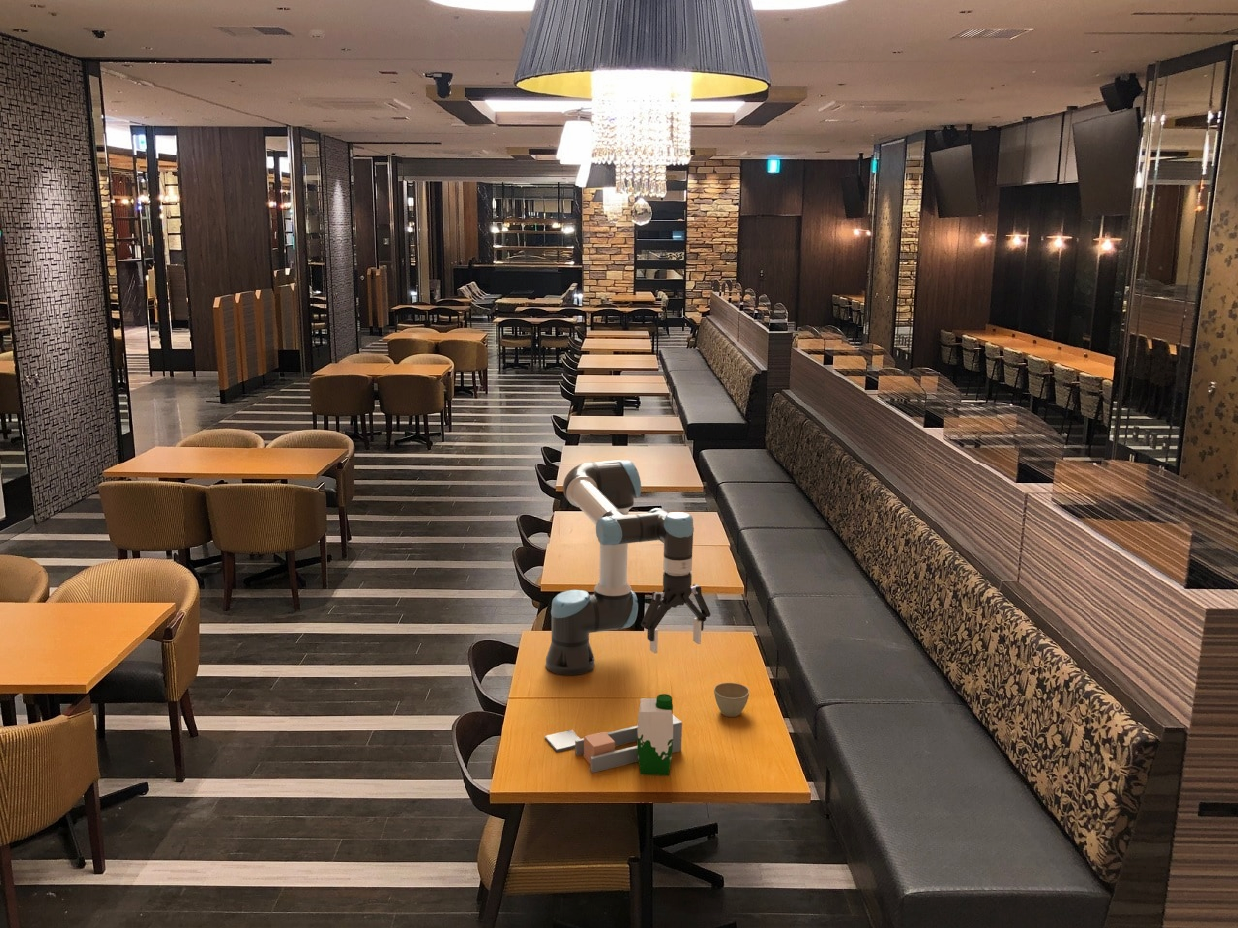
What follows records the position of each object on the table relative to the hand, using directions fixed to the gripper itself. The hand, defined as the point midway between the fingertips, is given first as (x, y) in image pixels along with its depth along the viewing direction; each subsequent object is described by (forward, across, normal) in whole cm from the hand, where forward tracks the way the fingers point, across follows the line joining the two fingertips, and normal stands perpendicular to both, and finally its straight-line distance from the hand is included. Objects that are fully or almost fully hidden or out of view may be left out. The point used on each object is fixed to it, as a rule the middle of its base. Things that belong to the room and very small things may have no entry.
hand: (675, 646), depth 279 cm
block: (+26, -24, -3) cm, 35 cm away
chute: (+25, -16, -3) cm, 30 cm away
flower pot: (+26, +21, +3) cm, 33 cm away
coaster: (+25, -28, +9) cm, 39 cm away
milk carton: (+26, -13, -13) cm, 32 cm away
